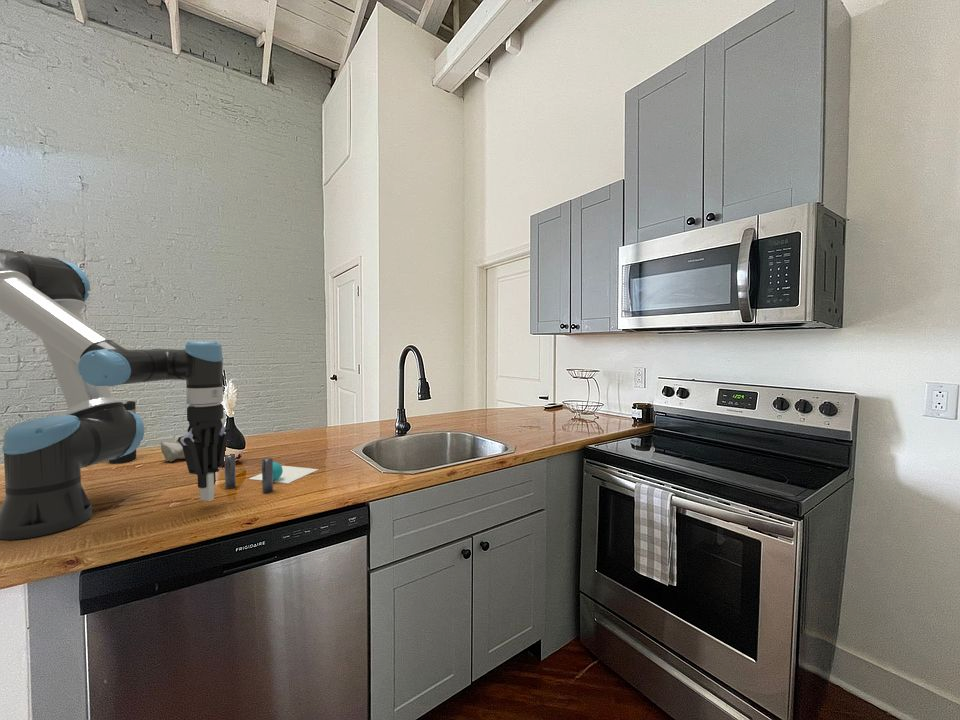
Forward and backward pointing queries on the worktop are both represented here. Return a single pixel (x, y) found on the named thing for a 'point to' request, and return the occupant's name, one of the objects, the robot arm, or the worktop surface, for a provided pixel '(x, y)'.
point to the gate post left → (230, 471)
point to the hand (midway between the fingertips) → (207, 499)
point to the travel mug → (132, 456)
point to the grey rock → (172, 451)
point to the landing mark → (289, 474)
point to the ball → (277, 471)
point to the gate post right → (267, 475)
